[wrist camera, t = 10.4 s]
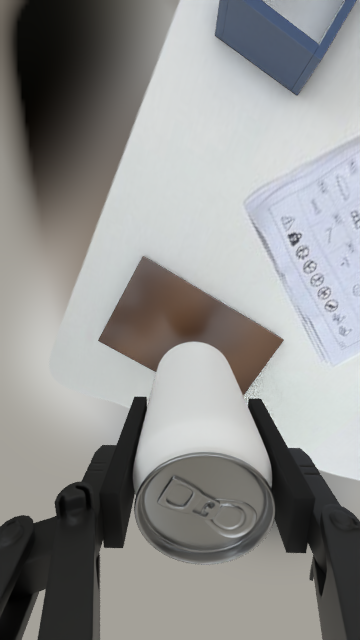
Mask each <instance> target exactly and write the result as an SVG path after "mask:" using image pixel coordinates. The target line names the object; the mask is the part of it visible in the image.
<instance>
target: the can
mask: <svg viewBox="0 0 360 640" xmlns="http://www.w3.org/2000/svg"><path fill="white" fill-rule="evenodd" d="M133 484H134V490H135V494H136V499H135V507H134V508H135V509H134V510H135V518H136V522H137V525H138V528H139V530H140V531H141V533H142V535H143V536H144V537H145V539H146V540H147V541H148V542H149V543H150V544H151V545H152V546H153V547H154V548H155V549H157V550H158V551H159V552H161V553H163V554H164V555H166V556H168V557H171V558H173V559H175V560H178V561H182V562H186V563H191V564H201V565H209V564H219V563H224V562H228V561H231V560H234V559H237V558H240V557H242V556H244V555H246V554H247V553H249V552H251V551H252V550H254V549H255V548H256V547H257V546H258V545H259V544H260V543H261V542H262V541H263V540H264V539H265V538H266V536H267V535H268V534H269V532H270V530H271V528H272V526H273V523H274V519H275V514H276V504H275V498H274V495H273V492H272V489H271V487H272V468H271V464H270V460H269V457H268V454H267V451H266V449H265V446H264V444H263V441H262V439H261V436H260V434H259V432H258V429H257V427H256V425H255V422H254V420H253V418H252V415H251V413H250V411H249V408H248V406H247V404H246V401H245V399H244V397H243V394H242V392H241V390H240V388H239V385H238V383H237V381H236V379H235V376H234V374H233V372H232V370H231V367H230V365H229V363H228V361H227V360H226V358H225V357H224V355H223V354H222V353H221V352H220V351H219V350H217V349H216V348H215V347H213V346H211V345H208V344H206V343H202V342H186V343H182V344H179V345H177V346H175V347H173V348H172V349H170V350H169V351H168V352H167V353H166V354H165V355H164V356H163V358H162V359H161V361H160V363H159V365H158V368H157V372H156V375H155V379H154V383H153V387H152V391H151V394H150V398H149V402H148V406H147V410H146V414H145V418H144V422H143V426H142V430H141V434H140V439H139V443H138V447H137V451H136V456H135V460H134V467H133Z"/></svg>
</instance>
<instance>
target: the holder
mask: <svg viewBox="0 0 360 640" xmlns="http://www.w3.org/2000/svg"><path fill="white" fill-rule="evenodd" d="M356 1H357V0H344V1H343V2H342V4H341V6H340V7H339V9H338V11H337V13H336V14H335V16H334V18H333V19H332V21H331V23H330V25H329V26H328V28H327V30H326V31H325V33H324V35H323V37H322V38H321V40H320V42H319V43H316V42H315V41H314V40H312V39H311V38H310V37H309V36H307V35H306V34H305V33H303V32H302V31H301V30H299V29H298V28H297V27H296V26H294V25H293V24H292V23H290V22H289V21H288V20H286V19H285V18H284V17H283V16H281V15H280V14H279V13H277V12H276V11H275V10H274V9H272V8H271V7H270V6H268V5H267V4H266V3H264V2H263V1H262V0H220V1H219V9H218V16H217V23H216V31H215V36H217V37H218V38H219V39H221V40H222V41H223V42H225V43H226V44H227V45H229V46H230V47H232V48H233V49H234V50H236V51H237V52H238V53H240V54H241V55H242V56H244V57H245V58H247V59H248V60H249V61H251V62H252V63H253V64H255V65H256V66H257V67H259V68H260V69H262V70H263V71H264V72H266V73H267V74H268V75H270V76H271V77H272V78H274V79H275V80H277V81H278V82H279V83H281V84H282V85H283V86H285V87H286V88H287V89H289V90H290V91H292V92H293V93H294V94H296V95H298V94H299V92H300V91H301V89H302V88H303V86H304V85H305V83H306V82H307V80H308V79H309V78H310V76H311V75H312V73H313V72H314V70H315V69H316V67H317V66H318V64H319V63H320V61H321V60H322V58H323V57H324V55H325V53H326V51H327V50H328V48H329V46H330V45H331V43H332V41H333V40H334V38H335V36H336V35H337V33H338V31H339V30H340V28H341V26H342V24H343V23H344V21H345V19H346V18H347V16H348V14H349V13H350V11H351V9H352V8H353V6H354V4H355V2H356Z"/></svg>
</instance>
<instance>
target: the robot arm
mask: <svg viewBox="0 0 360 640" xmlns="http://www.w3.org/2000/svg"><path fill="white" fill-rule="evenodd" d="M248 408H249V411H250V413H251V415H252V418H253V420H254V422H255V425H256V427H257V429H258V432H259V434H260V436H261V439H262V441H263V444H264V446H265V449H266V451H267V454H268V457H269V460H270V464H271V468H272V487H271V489H272V492H273V495H274V498H275V504H276V514H275V521H276V524H277V527H278V529H279V532H280V535H281V538H282V541H283V544H284V547H285V549H286V552H288V553H306V549H307V544H309V546H310V548H311V550H312V553H313V560H312V565H311V570H310V580H312V581H313V577H314V581H315V588H316V596H317V602H318V609H319V617H320V624H321V631H322V639H323V640H360V521H359V520H358V519H357V517H356V516H355V515H354V514H353V513H352V512H350V511H349V510H347V509H346V508H344V507H342V506H341V505H340V504H339V502H338V501H337V499H336V498H335V496H334V495H333V493H332V491H331V490H330V488H329V487H328V485H327V484H326V482H325V480H324V479H323V477H322V476H321V475H320V473H319V471H318V469H317V468H316V467H315V465H314V463H313V462H312V460H311V458H310V457H309V456H308V455H307V454H306V453H305V452H304V451H303V450H301V449H300V448H288V447H287V445H286V443H285V442H284V440H283V438H282V436H281V434H280V433H279V431H278V429H277V427H276V425H275V424H274V422H273V420H272V418H271V416H270V414H269V413H268V411H267V409H266V407H265V405H264V404H263V402H262V400H261V399H249V402H248ZM146 410H147V400H146V397H134V400H133V402H132V405H131V408H130V411H129V413H128V416H127V419H126V422H125V424H124V427H123V430H122V432H121V435H120V438H119V440H118V443H117V445H102V446H101V447H100V448H99V449H98V450H97V451H96V452H95V454H94V456H93V458H92V460H91V463H90V465H89V467H88V469H87V471H86V473H85V475H84V477H83V480H82V482H75V483H73V484H70V485H68V486H67V487H65V488H64V489H63V490H62V491H61V492H60V493H59V494H58V496H57V498H56V501H55V508H56V514H57V516H55V517H52V518H50V519H46V520H43V521H40V522H36V523H33V520H32V519H31V518H30V517H29V516H24V515H23V516H17V517H14V518H12V519H10V520H8V521H6V522H5V523H4V524H3V525H2V526H0V640H22V637H23V634H24V631H25V629H26V626H27V623H28V621H29V618H30V615H31V613H32V610H33V607H34V605H35V602H36V599H37V596H38V594H39V591H41V590H44V589H46V592H45V598H44V605H43V610H42V617H41V622H40V629H39V635H38V640H100V555H99V551H100V548H101V544H102V541H104V547H105V548H123V546H124V541H125V536H126V532H127V527H128V522H129V518H130V513H131V508H132V503H133V499H134V494H135V490H134V484H133V467H134V460H135V456H136V451H137V447H138V443H139V439H140V434H141V430H142V426H143V422H144V418H145V414H146Z"/></svg>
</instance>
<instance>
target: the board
mask: <svg viewBox="0 0 360 640" xmlns="http://www.w3.org/2000/svg"><path fill="white" fill-rule="evenodd" d="M98 341H100V342H102V343H103V344H105V345H107V346H109V347H111V348H113V349H114V350H116V351H118V352H120V353H122V354H124V355H126V356H127V357H129V358H131V359H133V360H135V361H137V362H138V363H140V364H142V365H144V366H146V367H148V368H150V369H151V370H153V371H155V372H157V368H158V365H159V363H160V361H161V359H162V358H163V356H164V355H165V354H166V353H167V352H168V351H169V350H170V349H172V348H173V347H175V346H177V345H179V344H182V343H186V342H202V343H206V344H208V345H211V346H213V347H215V348H216V349H217V350H219V351H220V352H221V353H222V354H223V355H224V357H225V358H226V360H227V361H228V363H229V365H230V367H231V370H232V372H233V374H234V376H235V379H236V381H237V383H238V385H239V388H240V390H241V392H242V394H243V395H244V394H245V392H246V391H247V390H248V388H249V387H250V386H251V384H252V383H253V381H254V380H255V379H256V377H257V376H258V375H259V373H260V372H261V371H262V369H263V368H264V366H265V365H266V364H267V362H268V361H269V360H270V358H271V357H272V355H273V354H274V353H275V351H276V350H277V349H278V347H279V346H280V345H281V343H282V342H283V339H282V338H281V337H279V336H277V335H276V334H274V333H272V332H271V331H269V330H267V329H266V328H264V327H262V326H260V325H259V324H257V323H255V322H254V321H252V320H250V319H249V318H247V317H245V316H244V315H242V314H240V313H239V312H237V311H235V310H234V309H232V308H230V307H229V306H227V305H225V304H224V303H222V302H220V301H219V300H217V299H215V298H213V297H212V296H210V295H208V294H207V293H205V292H203V291H202V290H200V289H198V288H197V287H195V286H193V285H192V284H190V283H188V282H187V281H185V280H183V279H182V278H180V277H178V276H177V275H175V274H173V273H172V272H170V271H168V270H167V269H165V268H163V267H161V266H160V265H158V264H156V263H155V262H153V261H151V260H150V259H148V258H146V257H145V256H143V257H142V259H141V261H140V263H139V265H138V266H137V268H136V270H135V272H134V274H133V276H132V278H131V280H130V281H129V283H128V285H127V287H126V289H125V291H124V293H123V295H122V297H121V298H120V300H119V302H118V304H117V306H116V308H115V310H114V312H113V314H112V315H111V317H110V319H109V321H108V323H107V325H106V327H105V329H104V331H103V332H102V334H101V336H100V338H99V340H98Z"/></svg>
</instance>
